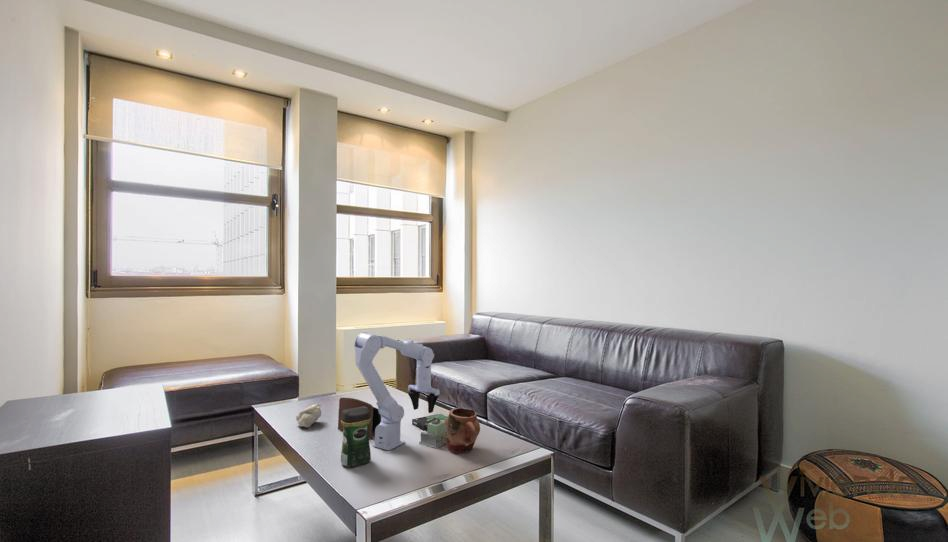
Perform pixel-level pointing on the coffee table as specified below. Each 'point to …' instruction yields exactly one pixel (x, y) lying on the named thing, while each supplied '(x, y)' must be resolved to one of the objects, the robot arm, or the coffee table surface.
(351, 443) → the coffee jar
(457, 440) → the decorative planter
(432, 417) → the disk drive
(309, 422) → the fossil replica
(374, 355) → the robot arm
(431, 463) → the coffee table surface
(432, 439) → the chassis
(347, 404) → the letter holder
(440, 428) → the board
